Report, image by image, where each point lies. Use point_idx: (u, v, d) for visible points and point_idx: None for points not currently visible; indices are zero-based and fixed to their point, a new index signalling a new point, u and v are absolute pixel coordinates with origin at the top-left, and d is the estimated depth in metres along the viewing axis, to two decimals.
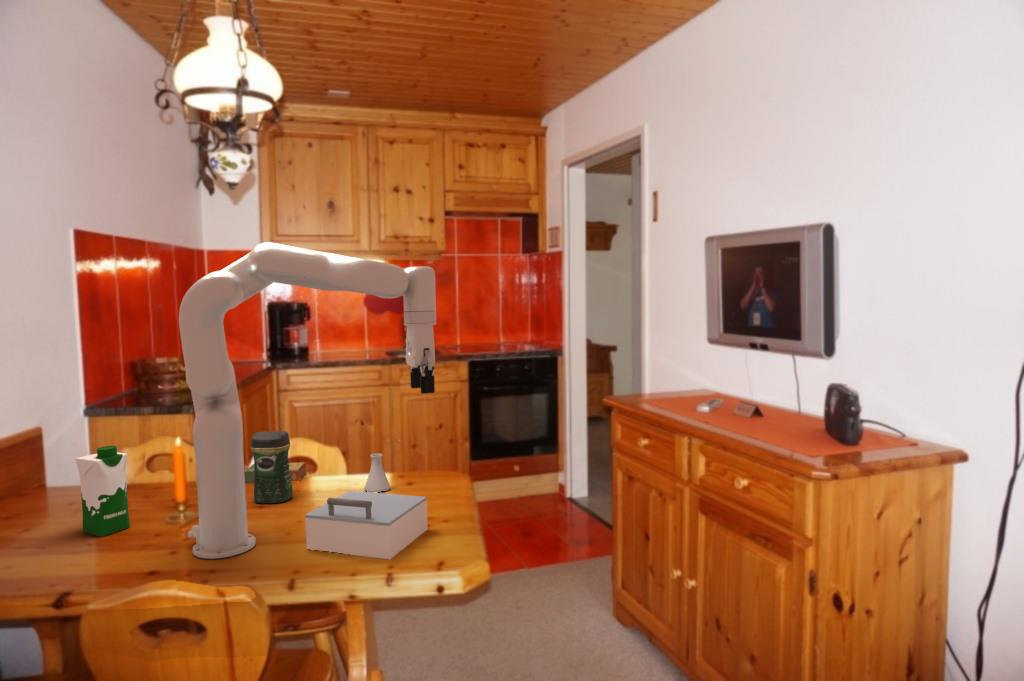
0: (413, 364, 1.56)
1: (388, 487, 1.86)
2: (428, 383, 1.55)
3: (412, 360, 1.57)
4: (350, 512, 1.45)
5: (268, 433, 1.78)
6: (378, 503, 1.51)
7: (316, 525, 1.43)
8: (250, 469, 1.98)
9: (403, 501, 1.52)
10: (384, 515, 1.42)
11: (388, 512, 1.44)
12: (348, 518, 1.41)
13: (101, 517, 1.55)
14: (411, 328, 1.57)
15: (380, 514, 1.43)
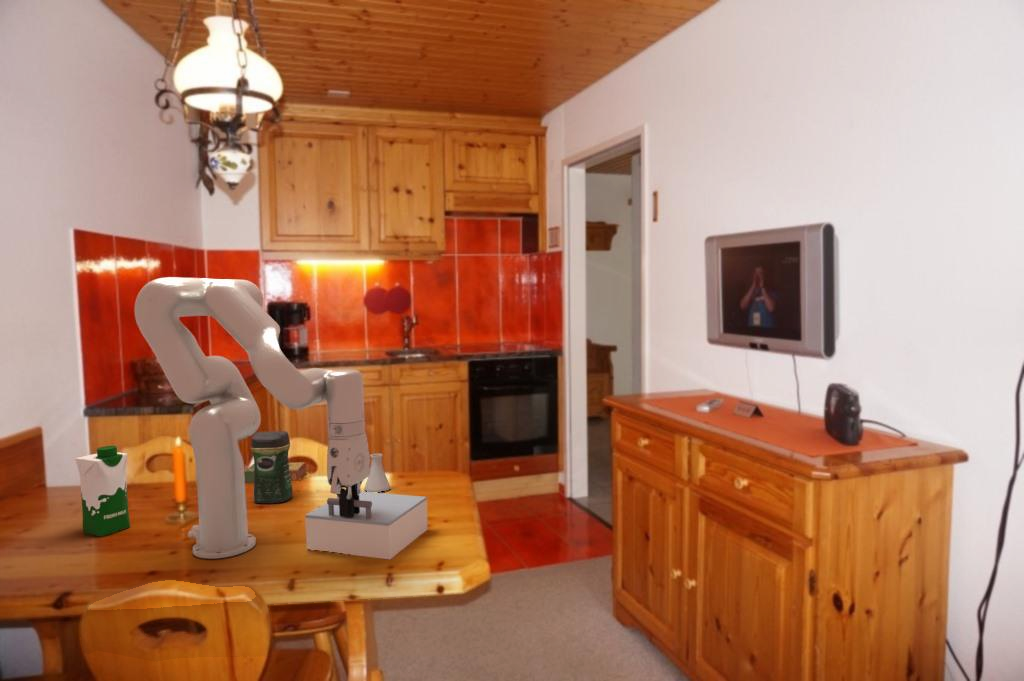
0: (368, 474, 1.44)
1: (388, 487, 1.86)
2: None
3: (365, 471, 1.43)
4: None
5: (268, 433, 1.78)
6: (378, 503, 1.51)
7: (316, 525, 1.43)
8: (250, 469, 1.98)
9: (403, 501, 1.52)
10: (384, 515, 1.42)
11: (388, 512, 1.44)
12: (348, 518, 1.41)
13: (101, 517, 1.55)
14: (363, 437, 1.42)
15: (380, 514, 1.43)
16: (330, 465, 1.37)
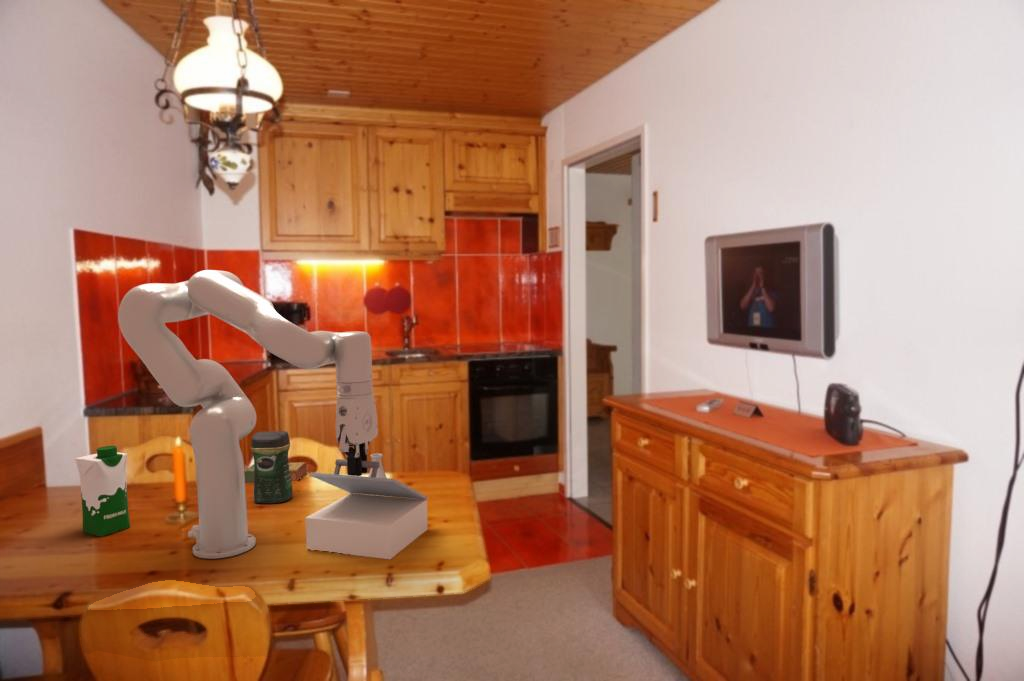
0: (375, 434, 1.47)
1: None
2: None
3: (373, 431, 1.46)
4: None
5: (268, 433, 1.78)
6: None
7: (316, 525, 1.43)
8: (250, 469, 1.99)
9: None
10: None
11: None
12: (353, 476, 1.43)
13: (101, 517, 1.55)
14: (371, 397, 1.45)
15: None
16: (339, 423, 1.40)
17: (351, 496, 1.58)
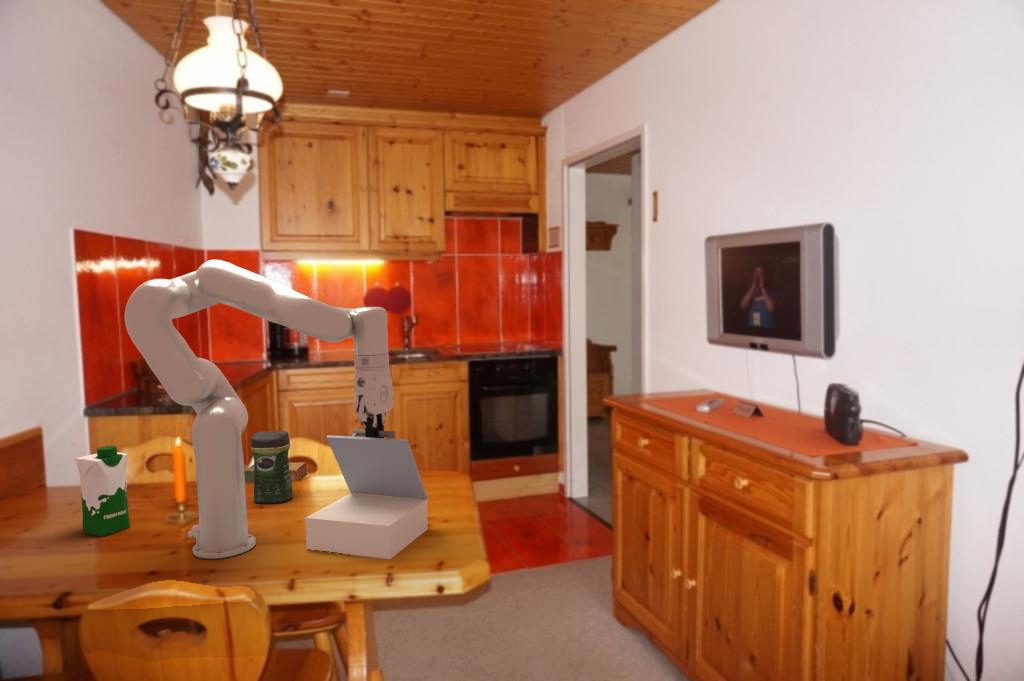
0: (392, 406, 1.54)
1: None
2: None
3: (389, 402, 1.53)
4: None
5: (268, 433, 1.78)
6: None
7: (316, 525, 1.43)
8: (250, 468, 1.99)
9: None
10: None
11: None
12: None
13: (101, 517, 1.55)
14: (387, 370, 1.52)
15: None
16: (357, 394, 1.47)
17: (351, 496, 1.58)
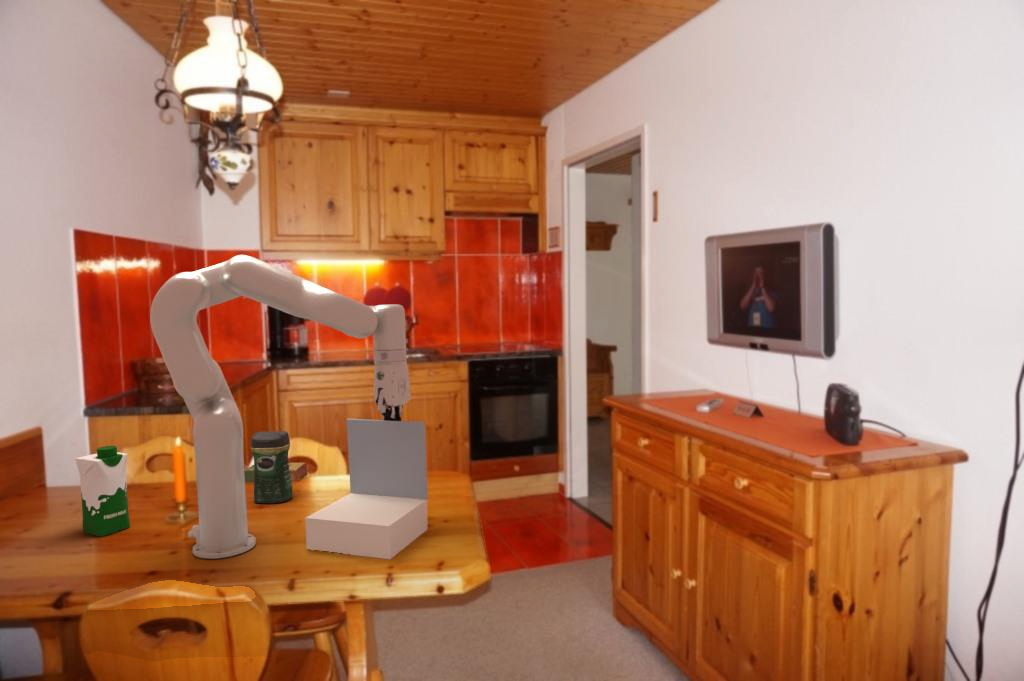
0: (408, 398, 1.62)
1: None
2: None
3: (407, 395, 1.61)
4: None
5: (268, 433, 1.78)
6: None
7: (316, 525, 1.43)
8: (250, 468, 1.99)
9: None
10: None
11: None
12: None
13: (101, 517, 1.55)
14: (404, 364, 1.60)
15: None
16: (377, 387, 1.54)
17: (351, 496, 1.58)
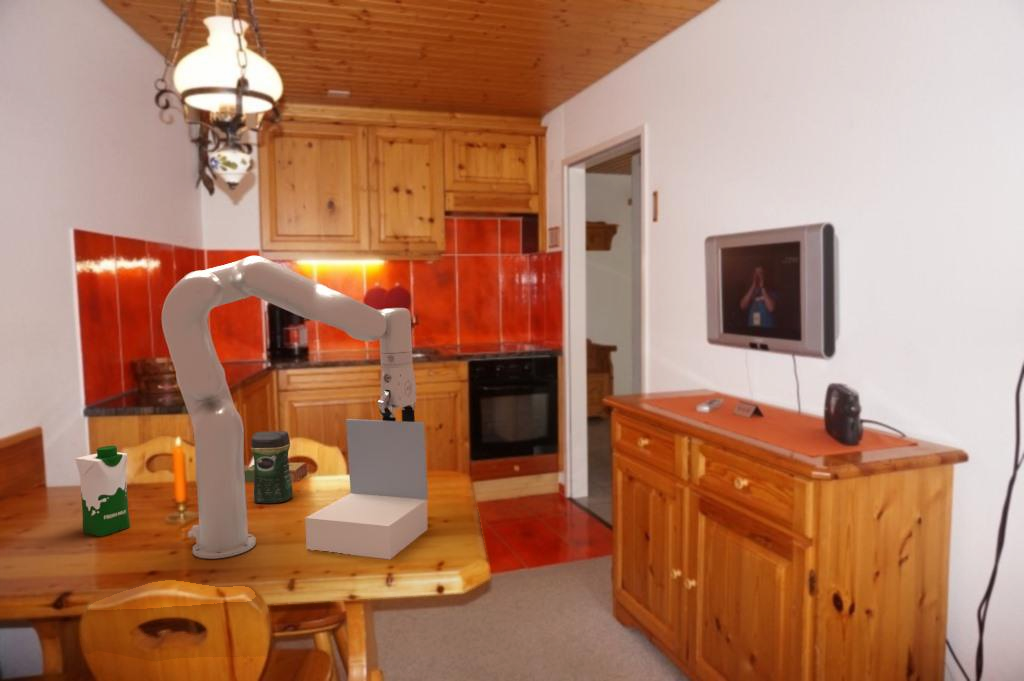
0: (414, 400, 1.65)
1: None
2: None
3: (413, 397, 1.64)
4: None
5: (268, 433, 1.78)
6: None
7: (316, 525, 1.43)
8: (250, 468, 1.99)
9: None
10: None
11: None
12: None
13: (101, 517, 1.55)
14: (410, 367, 1.63)
15: None
16: (384, 389, 1.58)
17: (351, 496, 1.58)
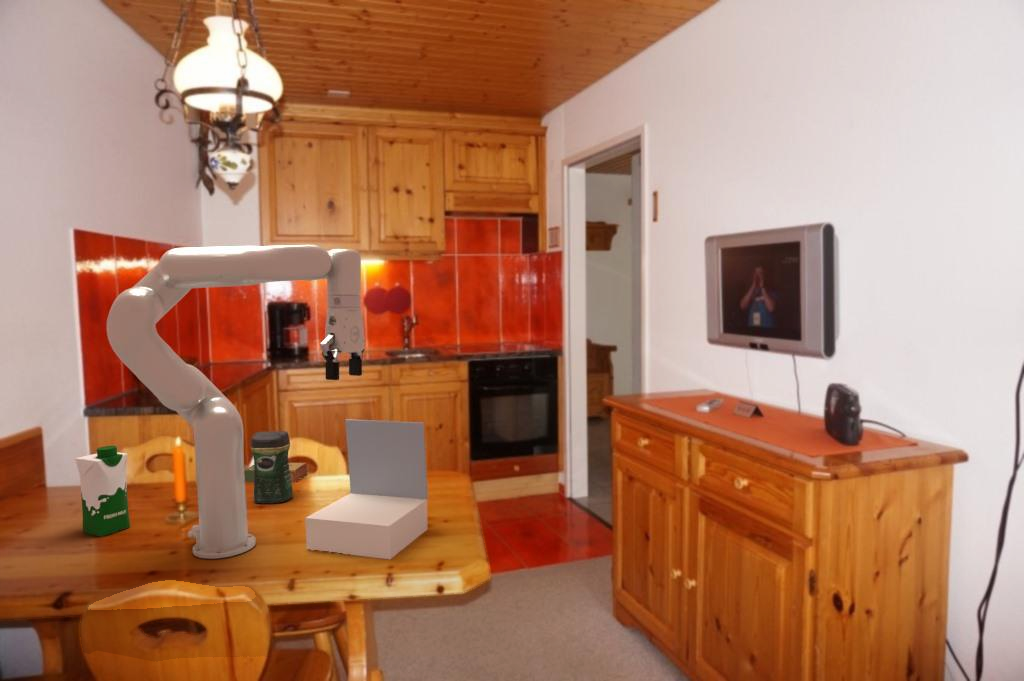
0: (362, 348, 1.57)
1: None
2: None
3: (360, 344, 1.56)
4: None
5: (268, 433, 1.78)
6: None
7: (316, 525, 1.43)
8: (251, 468, 2.00)
9: None
10: None
11: None
12: None
13: (101, 517, 1.55)
14: (359, 312, 1.56)
15: None
16: (328, 332, 1.50)
17: (351, 496, 1.58)
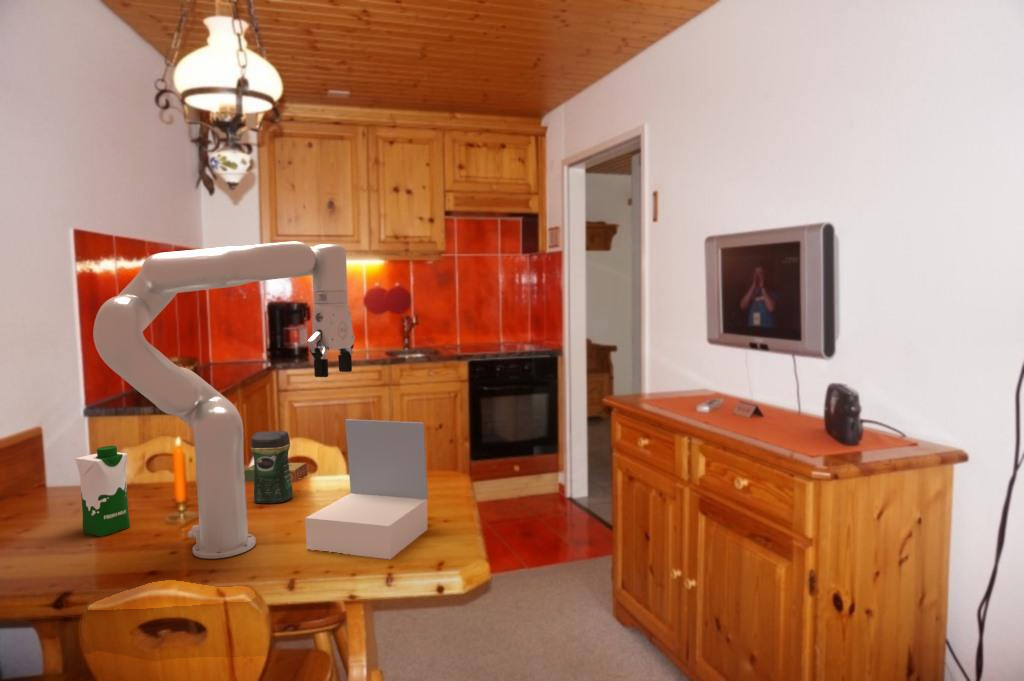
0: (351, 344, 1.56)
1: None
2: None
3: (349, 340, 1.55)
4: None
5: (268, 433, 1.78)
6: None
7: (316, 525, 1.43)
8: (251, 468, 2.00)
9: None
10: None
11: None
12: None
13: (101, 517, 1.55)
14: (346, 308, 1.54)
15: None
16: (315, 329, 1.49)
17: (351, 496, 1.58)
